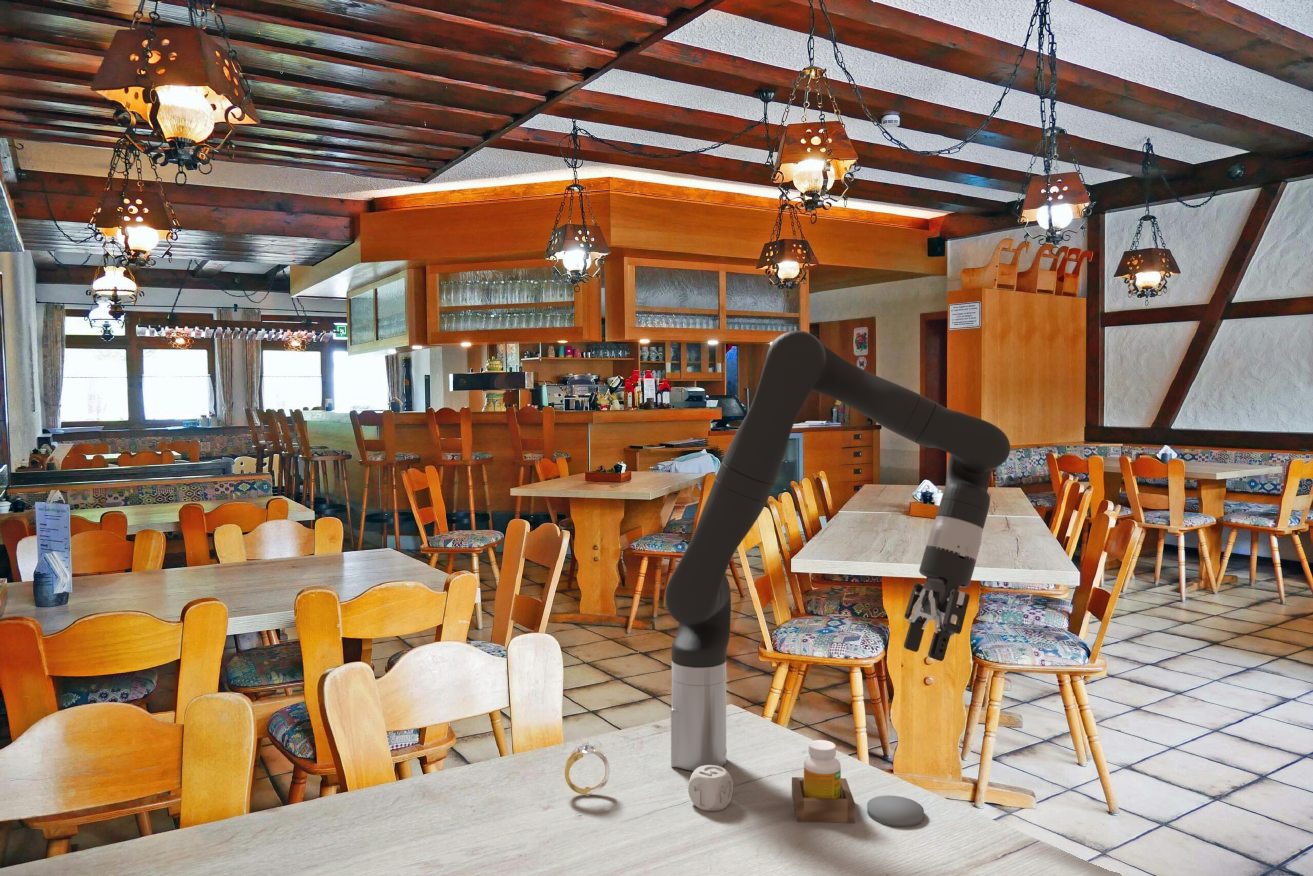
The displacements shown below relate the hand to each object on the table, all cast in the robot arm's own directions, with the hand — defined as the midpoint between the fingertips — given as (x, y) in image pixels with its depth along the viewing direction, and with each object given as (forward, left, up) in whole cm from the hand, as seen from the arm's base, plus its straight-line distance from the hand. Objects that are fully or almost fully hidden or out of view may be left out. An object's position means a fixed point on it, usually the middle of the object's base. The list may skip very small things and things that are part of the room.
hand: (922, 654), depth 132 cm
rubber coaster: (-5, -4, -23) cm, 23 cm away
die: (-32, -2, -23) cm, 39 cm away
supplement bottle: (-15, -3, -23) cm, 28 cm away
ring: (-51, 0, -23) cm, 56 cm away
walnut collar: (-15, -3, -23) cm, 27 cm away
